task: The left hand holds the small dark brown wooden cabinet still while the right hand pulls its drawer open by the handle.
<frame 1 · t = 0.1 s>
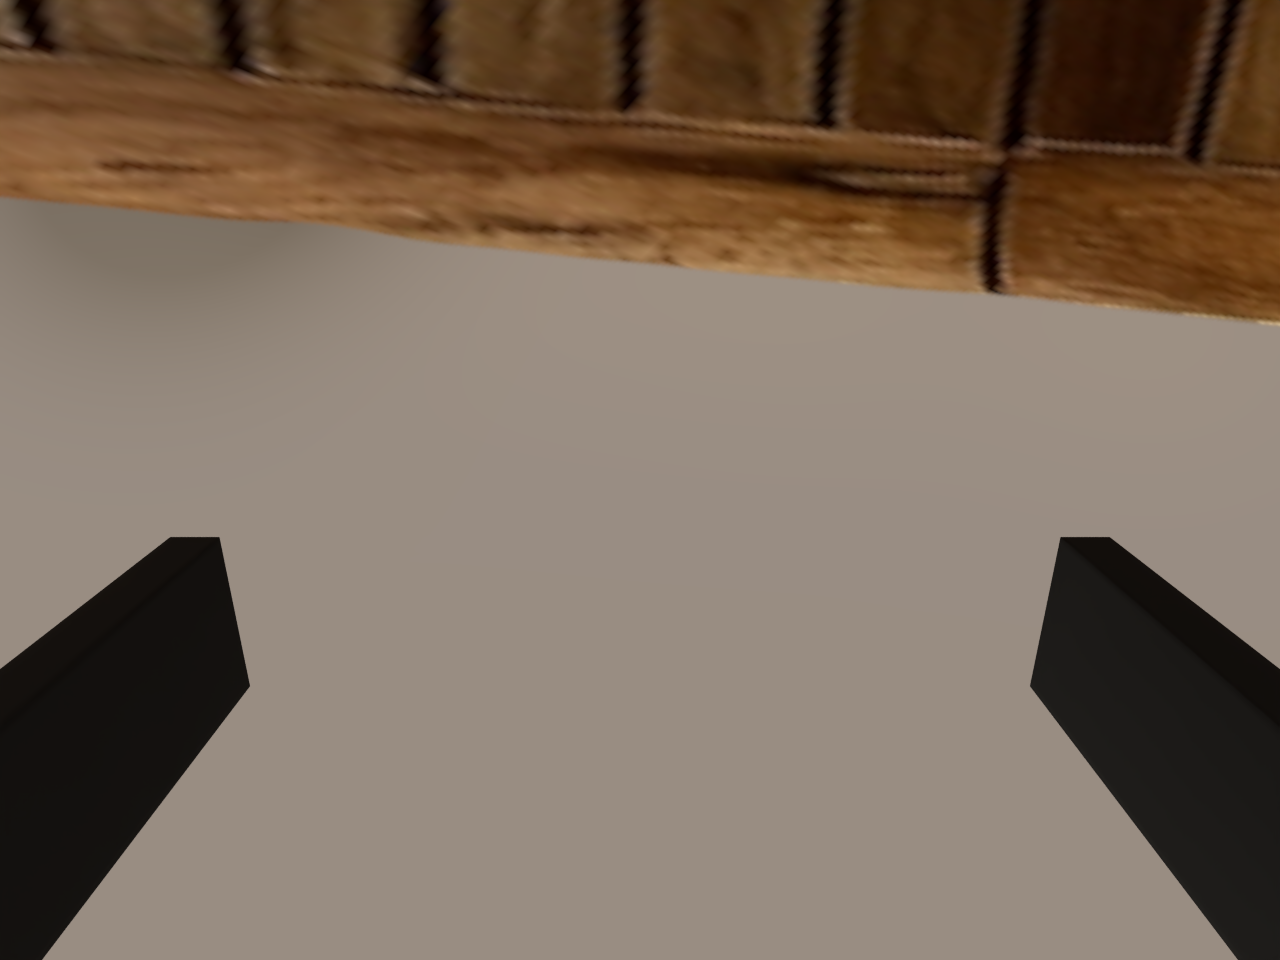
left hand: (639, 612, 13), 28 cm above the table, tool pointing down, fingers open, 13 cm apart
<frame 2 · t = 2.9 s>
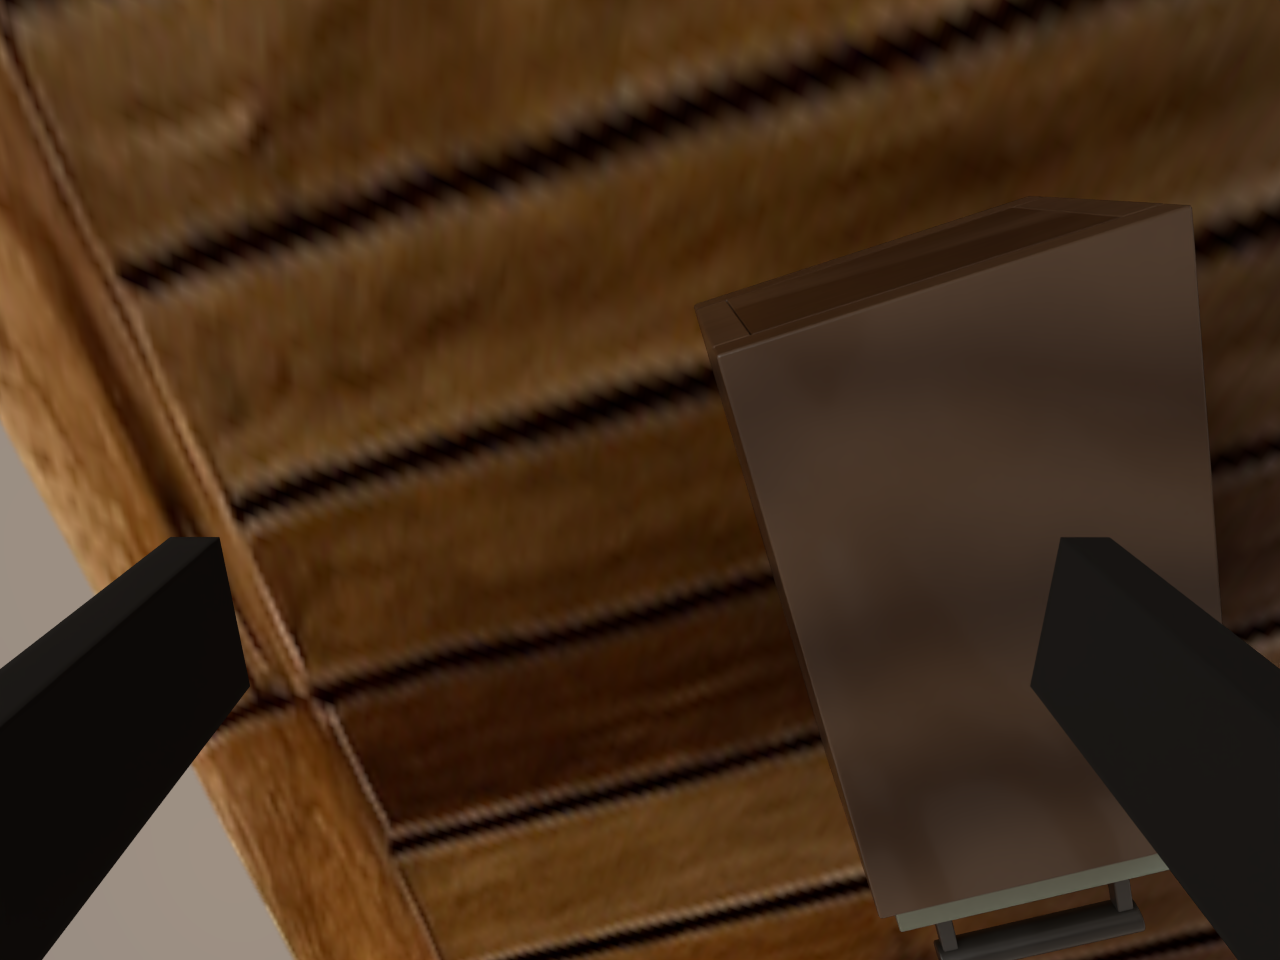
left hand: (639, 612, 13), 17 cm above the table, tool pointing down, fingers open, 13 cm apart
cabinet: (914, 510, 30), on the table
drawer: (982, 692, 28), point 4 cm above the table, slide at 0.9 cm
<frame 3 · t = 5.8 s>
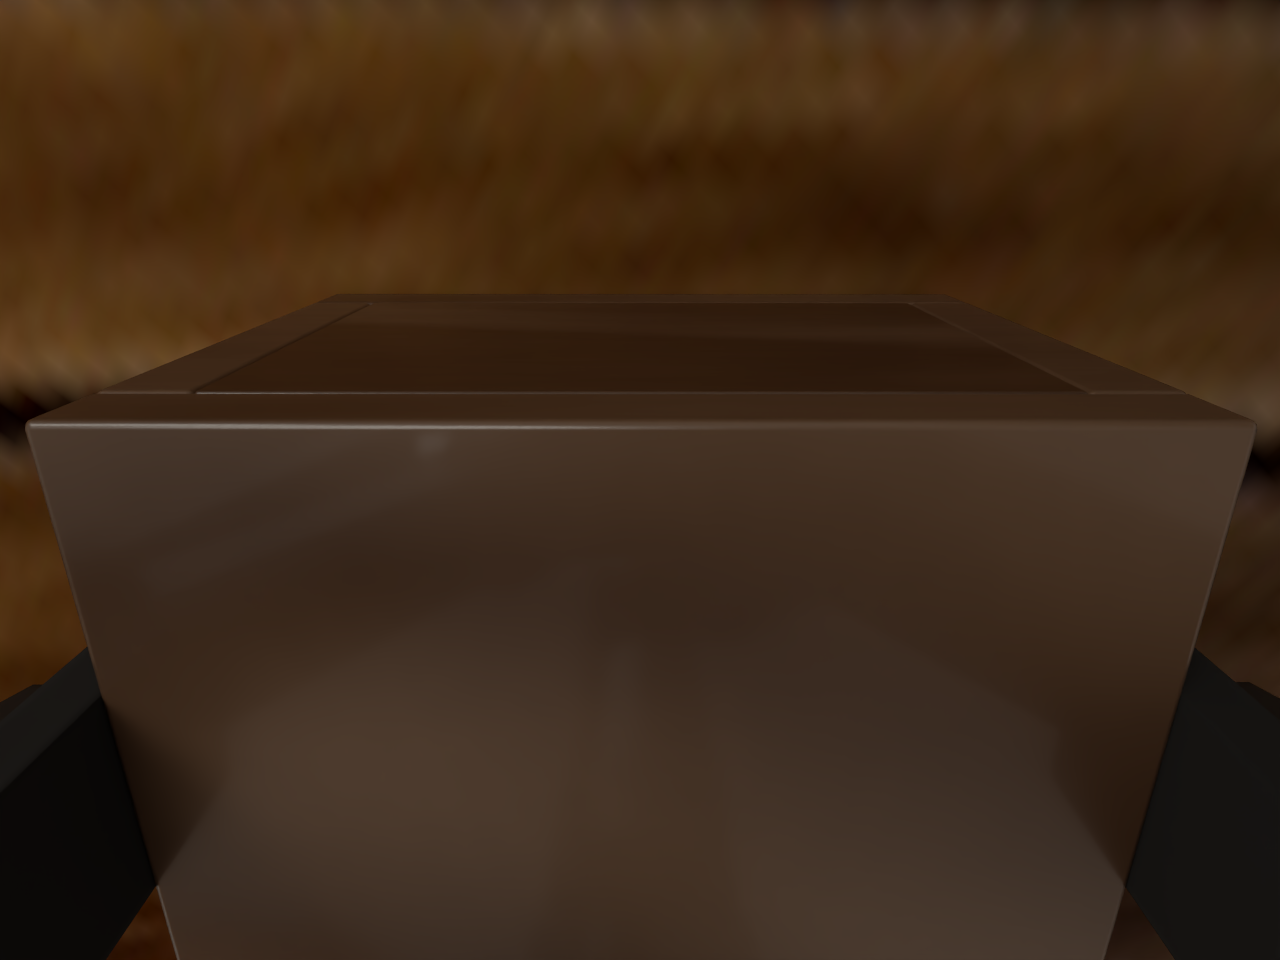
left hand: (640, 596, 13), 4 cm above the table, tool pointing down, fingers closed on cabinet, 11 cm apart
cabinet: (640, 728, 19), on the table, touching left hand
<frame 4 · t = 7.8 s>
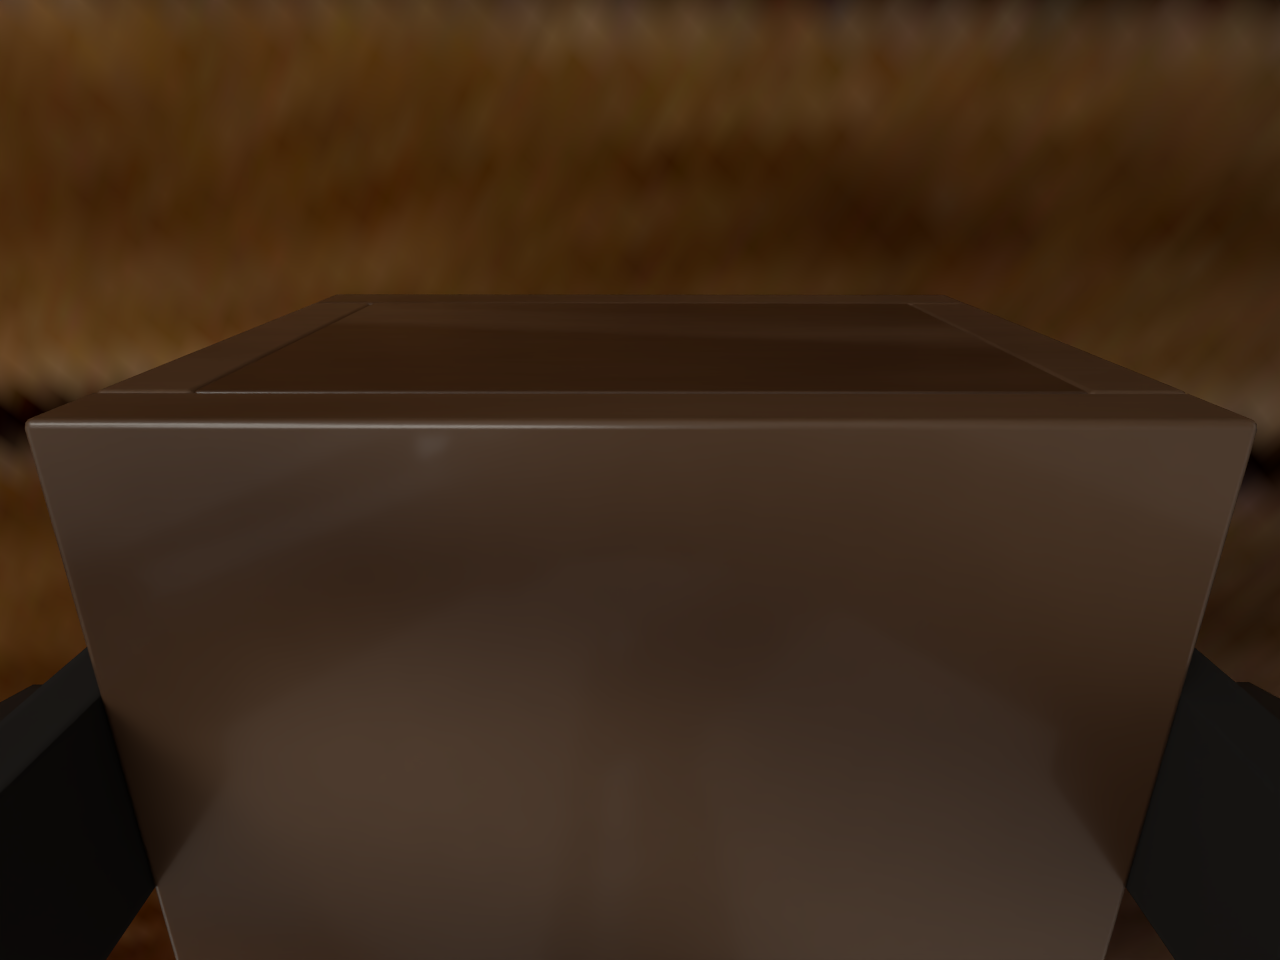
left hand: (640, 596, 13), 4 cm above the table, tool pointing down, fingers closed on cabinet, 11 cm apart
cabinet: (640, 728, 19), on the table, touching left hand
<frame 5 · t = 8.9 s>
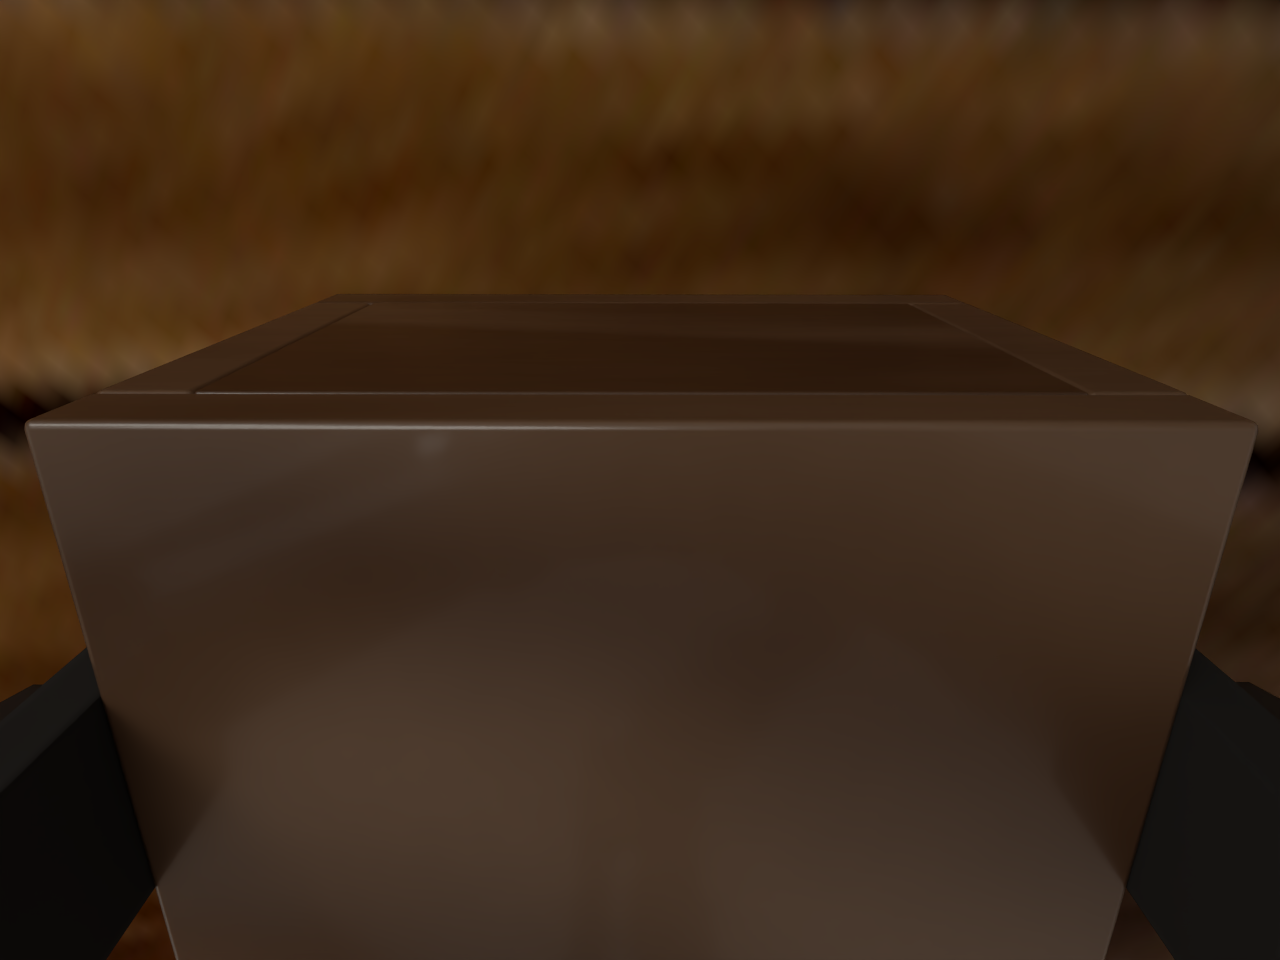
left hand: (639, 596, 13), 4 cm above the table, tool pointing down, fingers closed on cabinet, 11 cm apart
cabinet: (640, 728, 19), on the table, touching left hand
when the left hand's fingers open (4 cm above the table, at t = 10.9 s): cabinet stays where it is, on the table.
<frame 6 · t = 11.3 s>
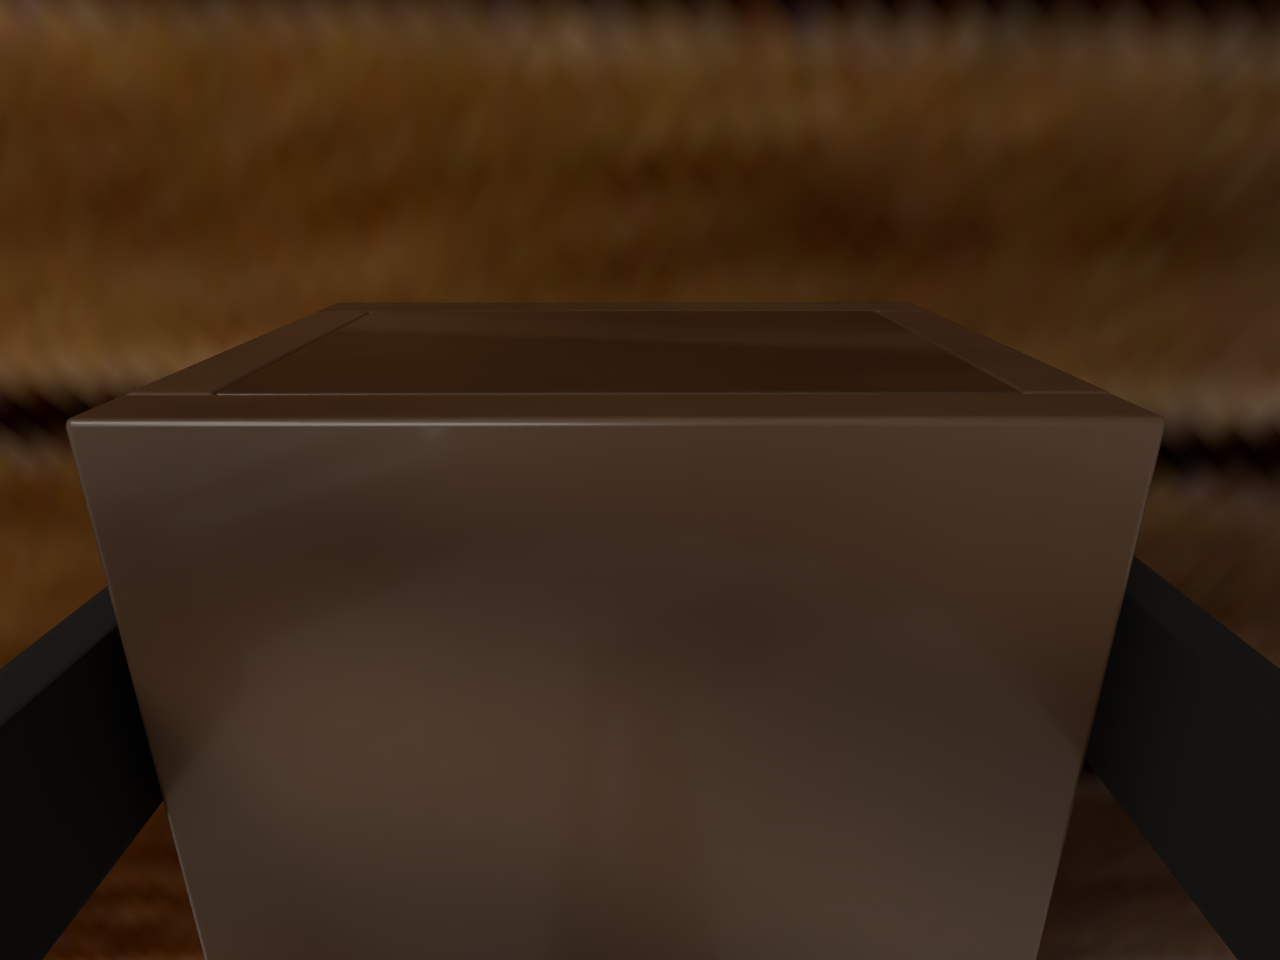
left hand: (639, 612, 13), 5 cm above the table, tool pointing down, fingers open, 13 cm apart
cabinet: (627, 716, 20), on the table
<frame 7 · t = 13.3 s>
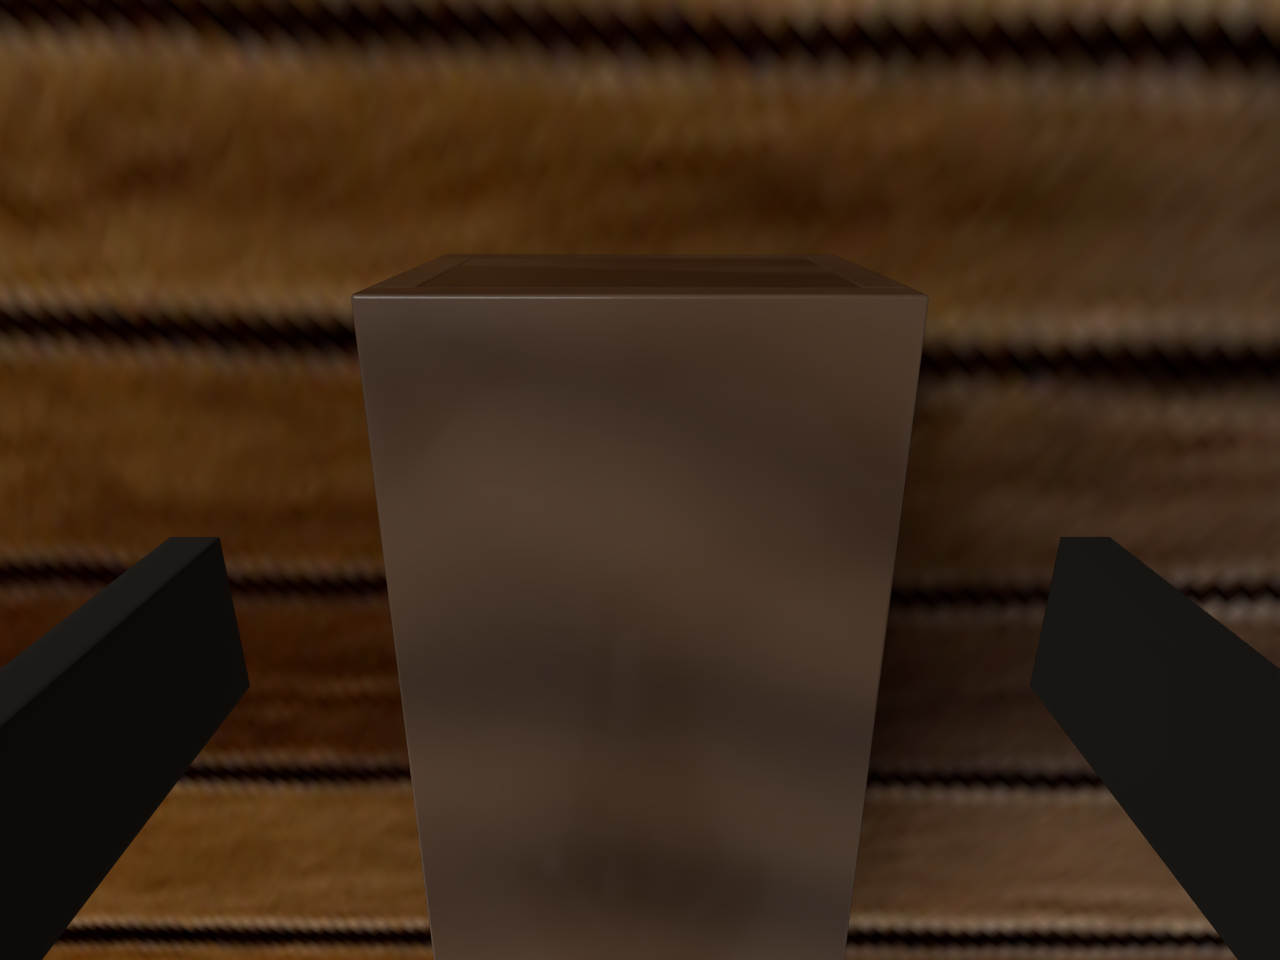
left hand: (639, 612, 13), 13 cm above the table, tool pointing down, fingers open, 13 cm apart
cabinet: (639, 558, 27), on the table
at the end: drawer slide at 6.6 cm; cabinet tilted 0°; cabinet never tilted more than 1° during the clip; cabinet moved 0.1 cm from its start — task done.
